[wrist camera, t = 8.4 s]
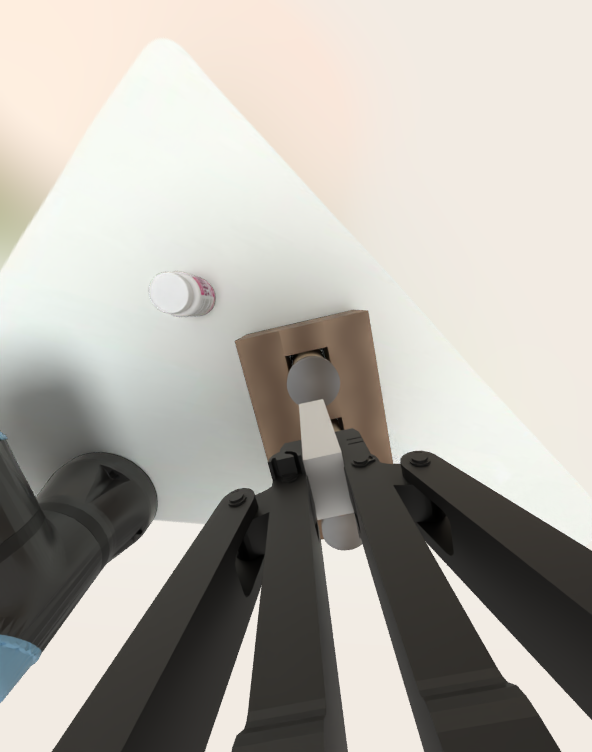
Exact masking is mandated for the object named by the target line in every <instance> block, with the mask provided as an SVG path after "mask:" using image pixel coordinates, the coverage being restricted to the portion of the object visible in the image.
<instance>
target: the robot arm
mask: <svg viewBox="0 0 592 752" xmlns="http://www.w3.org/2000/svg"><path fill="white" fill-rule="evenodd" d="M299 413H300V427H301V440H298V441H293V442H289V443H284V445H283V446H282V447H281V449H280V452H278V453H276V454H274V455H273V456H272V457H271V458H270V459H269V461H268V465H269V469H270V472H271V476H272V479H273V484H272V487H270V488H269V489H268V490H266V491H264V492H262V493H259V494H257V495H255V494H254V491H253V490H251V489H248V488H242V489H237V490H234V491H232V492H231V493H229V494H228V495H226V496H225V497H224V498H223V499H222V500H221V502H220V503H219V505H218V506H217V508H216V509H215V511H214V512H213V514H212V515H211V517H210V518H209V520H208V521H207V523H206V524H205V526H204V527H203V529H202V530H201V531H200V533H199V534H198V536H197V538H196V539H195V540H194V542H193V543H192V545H191V546H190V548H189V549H188V551H187V552H186V554H185V555H184V557H183V558H182V560H181V561H180V563H179V564H178V566H177V567H176V569H175V570H174V571H173V573H172V575H171V576H170V577H169V579H168V580H167V582H166V583H165V585H164V586H163V588H162V589H161V591H160V592H159V594H158V595H157V597H156V598H155V600H154V601H153V603H152V604H151V606H150V607H149V609H148V610H147V611H146V613H145V614H144V616H143V617H142V619H141V620H140V622H139V623H138V625H137V626H136V628H135V629H134V631H133V632H132V634H131V635H130V637H129V638H128V640H127V641H126V643H125V644H124V646H123V647H122V649H121V650H120V652H119V653H118V654H117V656H116V657H115V659H114V660H113V662H112V664H111V665H110V666H109V668H108V669H107V671H106V672H105V674H104V675H103V677H102V678H101V680H100V681H99V683H98V684H97V686H96V687H95V689H94V690H93V691H92V693H91V695H90V696H89V697H88V699H87V700H86V702H85V703H84V705H83V706H82V708H81V709H80V711H79V712H78V714H77V715H76V717H75V718H74V720H73V721H72V723H71V724H70V726H69V727H68V728H67V730H66V731H65V733H64V735H63V736H62V738H61V739H60V740H59V742H58V743H57V745H56V746H55V748H54V749H53V751H52V752H204V751H205V749H206V746H207V743H208V740H209V737H210V734H211V731H212V728H213V725H214V722H215V719H216V717H217V714H218V711H219V708H220V705H221V702H222V699H223V696H224V693H225V690H226V687H227V685H228V681H229V679H230V676H231V672H232V670H233V667H234V664H235V661H236V658H237V655H238V652H239V649H240V646H241V644H242V641H243V638H244V635H245V632H246V629H247V626H248V623H249V620H250V617H251V614H252V612H253V609H254V605H255V603H256V600H257V597H258V594H259V591H260V588H261V585H262V588H261V596H260V605H259V615H258V624H257V633H256V642H255V652H254V662H253V670H252V681H251V690H250V698H249V708H248V716H247V722H246V725H245V728H244V730H243V731H241V732H240V733H239V734H238V735H237V736H236V739H235V742H234V745H233V747H232V752H348V749H347V741H346V734H345V726H344V718H343V710H342V702H341V695H340V687H339V679H338V672H337V663H336V655H335V647H334V640H333V632H332V624H331V616H330V608H329V601H328V593H327V585H326V578H325V570H324V562H323V554H322V546H321V538H320V530H319V526H318V522H317V520H321V519H326V518H330V517H335V516H340V515H345V514H350V513H354V514H355V519H356V524H357V529H358V534H359V538H361V540H362V544H363V547H364V550H365V554H366V557H367V560H368V564H369V567H370V570H371V574H372V577H373V580H374V584H375V587H376V591H377V594H378V597H379V601H380V604H381V608H382V611H383V614H384V617H385V621H386V624H387V628H388V630H389V634H390V638H391V641H392V644H393V648H394V651H395V654H396V658H397V661H398V665H399V668H400V671H401V674H402V678H403V681H404V685H405V688H406V692H407V695H408V698H409V702H410V705H411V708H412V712H413V715H414V718H415V722H416V725H417V729H418V732H419V735H420V739H421V742H422V746H423V749H424V752H561V751H560V749H559V747H558V746H557V744H556V742H555V741H554V739H553V737H552V736H551V734H550V733H549V731H548V729H547V728H546V726H545V724H544V723H543V721H542V719H541V718H540V716H539V714H538V713H537V712H536V710H535V709H534V707H533V705H532V704H531V702H530V701H529V699H528V698H527V697H526V695H525V694H524V693H523V692H522V691H521V690H520V689H519V687H518V686H516V685H514V684H511V683H508V682H507V681H506V680H505V679H504V677H503V676H502V675H501V673H500V671H499V670H498V668H497V667H496V665H495V663H494V662H493V660H492V658H491V656H490V654H489V653H488V651H487V649H486V647H485V646H484V644H483V642H482V640H481V639H480V637H479V635H478V633H477V632H476V630H475V628H474V627H473V625H472V623H471V621H470V619H469V617H468V616H467V614H466V612H465V610H464V609H463V607H462V605H461V604H460V602H459V600H458V598H457V596H456V595H455V593H454V591H453V589H452V588H451V586H450V584H449V582H448V581H447V579H446V577H445V575H444V574H443V572H442V570H441V568H440V567H439V565H438V563H437V561H436V560H435V558H434V556H433V554H432V553H431V551H430V549H429V547H428V545H429V546H430V547H431V548H432V549H433V550H434V551H435V552H436V553H437V554H438V555H439V556H440V557H441V558H442V560H443V561H444V562H445V563H446V564H447V565H448V566H449V567H450V568H451V569H452V570H453V571H454V573H455V574H456V575H457V576H458V577H459V578H460V579H461V580H462V581H463V582H464V583H465V584H466V585H467V586H468V587H469V589H470V590H471V591H472V592H473V593H474V594H475V595H476V596H477V597H478V598H479V599H480V600H481V601H482V603H483V604H484V605H485V606H486V607H487V608H488V609H489V610H490V611H491V612H492V613H493V614H494V615H495V617H496V618H497V619H498V620H499V621H500V622H501V623H502V624H503V625H504V626H505V627H506V628H507V629H508V630H509V631H510V633H511V634H512V635H513V636H514V637H515V638H516V639H517V640H518V641H519V642H520V643H521V644H522V646H523V647H525V649H526V650H527V651H528V652H529V653H530V654H531V655H532V656H533V657H534V658H535V659H536V660H537V662H538V663H539V664H540V665H541V666H542V667H543V668H544V669H545V670H546V671H547V672H548V673H549V674H550V675H551V677H552V678H553V679H554V680H555V681H556V682H557V683H558V684H559V685H560V686H561V687H562V688H563V689H564V691H565V692H566V693H567V694H568V695H569V696H570V697H571V698H572V699H573V700H574V701H575V702H576V703H577V705H578V706H579V707H580V708H581V709H582V710H583V711H584V712H585V713H586V714H587V715H588V716H589V717H590V718H591V720H592V551H591V550H589V549H588V548H586V547H585V546H583V545H581V544H580V543H578V542H577V541H575V540H573V539H572V538H570V537H568V536H567V535H565V534H563V533H562V532H560V531H559V530H557V529H555V528H554V527H552V526H550V525H549V524H547V523H546V522H544V521H542V520H541V519H539V518H537V517H536V516H534V515H533V514H531V513H529V512H528V511H526V510H524V509H523V508H521V507H519V506H518V505H516V504H515V503H513V502H511V501H510V500H508V499H506V498H505V497H503V496H502V495H500V494H498V493H497V492H495V491H493V490H492V489H490V488H489V487H487V486H485V485H484V484H482V483H480V482H479V481H477V480H475V479H474V478H472V477H471V476H469V475H467V474H466V473H464V472H462V471H461V470H459V469H458V468H456V467H454V466H453V465H451V464H449V463H448V462H446V461H445V460H443V459H441V458H440V457H438V456H436V455H435V454H432V453H430V452H425V451H413V452H409V453H407V454H405V455H403V456H402V458H401V464H386V463H381V462H380V461H379V459H378V458H377V457H376V456H375V455H373V454H371V453H370V451H369V449H368V447H367V446H366V444H365V442H364V440H363V438H362V437H361V435H360V433H359V431H357V430H355V429H353V428H350V429H346V430H341V431H336V432H334V429H333V426H332V423H331V420H330V417H329V414H328V412H327V409H326V406H325V403H324V400H323V399H320V400H316V401H311V402H307V403H302V404H299ZM6 439H7V436H6V435H5V434H2V432H1V431H0V703H1V702H2V701H3V700H4V698H5V697H6V696H7V695H8V694H9V692H10V691H11V690H12V689H13V687H14V686H15V685H16V684H17V682H18V681H19V680H20V679H21V678H22V676H23V675H24V674H25V673H26V671H27V670H28V669H29V668H30V666H32V665H33V664H34V663H36V662H37V660H38V659H39V657H40V655H41V653H42V652H43V650H44V649H45V648H46V646H47V645H48V643H49V642H50V641H51V639H52V638H53V637H54V635H55V634H56V632H57V631H58V630H59V628H60V627H61V626H62V624H63V622H64V621H65V620H66V619H67V617H68V616H69V614H70V613H71V612H72V610H73V609H74V608H75V606H76V605H77V603H78V602H79V601H80V599H81V598H82V597H83V595H84V594H85V592H86V591H87V590H88V588H89V587H90V585H91V584H92V583H93V581H94V580H95V579H96V577H97V576H98V574H99V573H100V571H101V570H102V569H103V568H104V566H105V565H106V564H107V563H108V562H110V561H111V560H112V559H113V558H115V557H116V556H117V555H119V554H120V553H122V552H123V551H124V550H125V549H127V548H128V547H129V546H131V545H132V544H133V543H135V542H136V541H137V540H138V539H139V538H140V537H141V536H142V535H143V534H144V532H145V531H146V529H147V528H148V527H149V525H150V524H151V522H152V521H153V519H154V517H155V514H156V510H157V496H156V492H155V489H154V487H153V484H152V483H151V481H150V479H149V478H148V476H147V475H146V474H145V473H144V472H143V471H142V470H141V469H140V468H139V467H138V466H136V465H135V464H134V463H132V462H130V461H129V460H127V459H125V458H123V457H120V456H117V455H114V454H109V453H89V454H84V455H81V456H79V457H76V458H74V459H73V460H71V461H70V462H68V463H67V464H65V465H64V466H62V467H61V468H60V469H58V470H57V471H56V472H55V473H54V474H53V475H52V476H51V478H50V479H49V480H48V482H47V483H46V485H45V486H44V487H43V489H42V490H41V491H40V493H39V494H38V495H37V497H35V495H34V493H33V492H32V490H31V488H30V486H29V484H28V482H27V480H26V478H25V477H24V475H23V473H22V471H21V469H20V467H19V465H18V463H17V461H16V459H15V457H14V455H13V453H12V451H11V449H10V447H9V445H8V443H7V441H6ZM425 541H426V542H425ZM426 543H427V544H428V545H427V544H426Z"/></svg>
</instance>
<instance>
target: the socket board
mask: <svg viewBox="0 0 592 752" xmlns="http://www.w3.org/2000/svg"><path fill="white" fill-rule="evenodd" d="M235 344H236V347H237V351H238V355H239V358H240V362H241V366H242V369H243V373H244V376H245V380H246V384H247V387H248V391H249V395H250V398H251V402H252V405H253V409H254V413H255V416H256V420H257V424H258V427H259V431H260V434H261V438H262V442H263V445H264V449H265V453H266V456H267V460H268V461H269V459H270V458H271V457H272V456H273V455H274V454H276V453H278V452H280V449H281V447H282V446H283V445H284V443H289V442H293V441H298V440H301V427H300V413H299V405H298V404H296V403H295V402H294V401H293V400H292V399H291V397H290V395H289V393H288V390H287V377H288V373H289V370H290V369H291V367H292V365H291V361H290V356H289V355H293V354H297V353H302V352H306V351H311V350H315V349H320V348H323V350H324V355H325V359H327V360H328V361H329V362H330V363H332V365H333V366H334V367H335V369H336V370H337V372H338V375H339V378H340V389H339V392H338V394H337V396H336V398H335V399H334V400H333V401H332V402H331V403H330V404H329V405H327V406H326V409H327V412H328V414H329V417H330V419H335V418H338V423H339V426H340V429H341V430H346V429H350V428H353V429H355V430H357V431H359V433H360V435H361V437H362V438H363V440H364V442H365V444H366V446H367V447H368V449H369V451H370V453H371V454H373V455H375V456H376V457H377V458H378V459H379V461H380V462H381V463H386V464H393V460H392V454H391V448H390V442H389V436H388V429H387V423H386V417H385V411H384V405H383V399H382V393H381V387H380V380H379V374H378V368H377V362H376V356H375V350H374V344H373V338H372V332H371V325H370V319H369V313H368V311H366V310H351V311H347V312H342V313H338V314H334V315H329V316H325V317H320V318H316V319H312V320H307V321H303V322H299V323H294V324H290V325H286V326H281V327H277V328H273V329H268V330H264V331H260V332H255V333H251V334H247V335H245V336H243V337H242V338H240V339H238V340H236V341H235ZM321 521H322V519H321V520H317V522H318V526H319V530H320V538H321V539H324V537H323V533H322V525H321Z"/></svg>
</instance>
